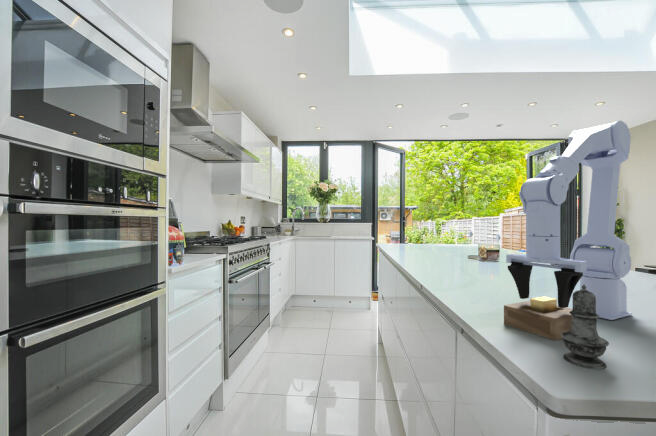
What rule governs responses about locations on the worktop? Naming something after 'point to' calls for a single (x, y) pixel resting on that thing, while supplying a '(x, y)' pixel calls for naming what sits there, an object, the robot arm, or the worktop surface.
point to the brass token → (543, 304)
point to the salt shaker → (584, 333)
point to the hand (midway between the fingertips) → (542, 302)
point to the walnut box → (538, 320)
